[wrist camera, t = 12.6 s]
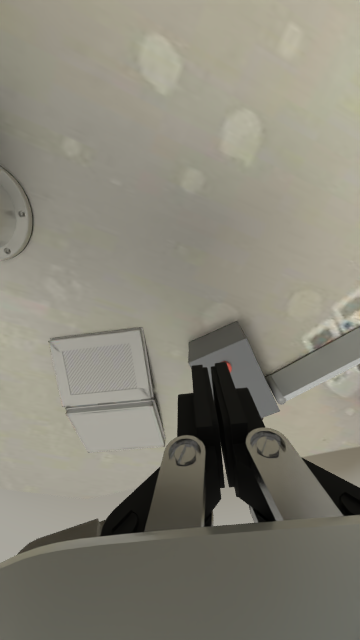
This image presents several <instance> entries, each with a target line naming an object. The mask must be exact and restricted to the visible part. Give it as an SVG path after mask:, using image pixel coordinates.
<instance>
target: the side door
mask: <svg viewBox="0 0 360 640" xmlns="http://www.w3.org/2000/svg"><path fill="white" fill-rule="evenodd" d="M358 364H360V327H359V328H357V329H355V330H353V331H352V332H350V333H348V334H346V335H344V336H342V337H341V338H339V339H337V340H335V341H333V342H331V343H330V344H328V345H326V346H324V347H322V348H320V349H319V350H317V351H315V352H313V353H311V354H309V355H308V356H306V357H304V358H302V359H300V360H298V361H296V362H295V363H293V364H291V365H289V366H287V367H285V368H284V369H282V370H280V371H278V372H276V373H274V374H273V375H269V376H267V377H266V382H267V383H268V385H269V387H270V389H271V391H272V393H273V395H274V397H275V399H276V401H277V402H278V404H284V403H285V402H286V401H288V400H290V399H291V398H293V397H295V396H297V395H299V394H301V393H303V392H305V391H307V390H309V389H311V388H313V387H315V386H317V385H319V384H321V383H323V382H325V381H327V380H329V379H331V378H333V377H335V376H337V375H339V374H341V373H343V372H344V371H346V370H348V369H350V368H352V367H354V366H356V365H358Z"/></svg>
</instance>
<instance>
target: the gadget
mask: <svg viewBox="0 0 360 640" xmlns="http://www.w3.org/2000/svg"><path fill="white" fill-rule="evenodd" d="M48 342H49V346H50V351H51V356H52V361H53V365H54V370H55V375H56V380H57V384H58V389H59V394H60V399H61V404H62V407H66V408H65V409H66V411H67V412H66V416H67V417H68V419H69V421H70V422H71V424H72V426H73V428H74V429H75V431H76V433H77V434H78V436H79V438H80V440H81V441H82V443H83V445H84V446H85V448H86V450H87V452H88V453H90V452H103V451H116V450H129V449H141V448H154V447H165V440H164V439H165V434H164V429H163V426H162V423H161V419H160V416H159V412H158V409H157V405H156V402H155V399H154V398H151V397H154V394H153V387H152V381H151V374H150V368H149V361H148V355H147V349H146V342H145V337H144V332H143V327H141V328H132V329H124V330H116V331H108V332H100V333H91V334H83V335H75V336H67V337H58V338H51V339H50V341H48Z"/></svg>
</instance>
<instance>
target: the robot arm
mask: <svg viewBox="0 0 360 640" xmlns="http://www.w3.org/2000/svg"><path fill="white" fill-rule="evenodd" d="M31 231H32V213H31V208H30V205H29V202H28V199H27V197H26V195H25V193H24V191H23V189H22V188H21V186H20V185H19V184H18V182H17V181H16V179H15V178H14V177H12V176H11V175H10V174H9V173H8V172H7V171H6V170H5V169H3V168H2V167H0V261H2V260H7V259H10V258H12V257H14V256H16V255H18V254H19V253H20V252H21V251H22V250H23V249H24V248H25V246H26V245H27V243H28V241H29V238H30V236H31ZM191 367H192V380H193V392H194V393H189V394H180V395H178V429H177V437H176V438H174V439H173V440H172V441H170V442H169V444H168V445H167V446H166V448H165V451H164V455H163V459H162V463H161V466H160V467H159V468H158V469H157V470H156V471H155V472H154V473H153V474H152V475H151V476H150V477H149V478H148V479H147V480H145V481H144V482H143V483H142V484H141V485H140V486H139V487H138V488H137V489H136V490H135V491H134V492H133V493H132V494H131V495H129V496H128V497H127V498H126V499H125V500H124V501H123V502H122V503H121V504H120V505H119V506H118V507H117V508H115V509H114V510H113V512H112V513H111V514H110V515H109V516H108V518H107V519H106V520H104V521H101V522H99V520H98V519H95V520H92V521H89V522H86V523H83V524H80V525H77V526H74V527H71V528H68V529H65V530H62V531H59V532H56V533H53V534H50V535H47V536H44V537H41V538H38V539H36V540H34V541H33V542H31V543H29V544H28V545H26V546H25V547H24V548H23V549H22V550H21V551H20V552H19V553H18V554H17V555H16V556H14V557H12V558H10V559H8V560H6V561H4V562H2V563H0V640H360V488H359V487H357V486H355V485H353V484H351V483H349V482H347V481H345V480H344V479H341V478H340V477H338V476H336V475H334V474H332V473H330V472H328V471H326V470H324V469H323V468H321V467H319V466H317V465H315V464H313V463H311V462H309V461H307V460H305V459H303V458H301V457H300V455H299V454H298V453H297V451H296V450H295V449H294V447H293V446H292V444H291V443H290V442H289V440H288V439H287V438H286V437H285V436H284V435H283V434H282V433H280V432H279V431H277V430H274V429H271V428H265V426H264V423H263V421H262V419H261V417H260V414H259V412H258V410H257V407H256V405H255V403H254V401H253V398H252V396H251V394H250V391H249V389H248V388H247V387H246V388H235V386H234V383H233V380H232V377H231V374H230V371H229V369H228V366H227V363H226V362H220V363H215V366H211V376H212V386H213V394H212V388H211V383H210V378H209V373H208V368H207V367H203V365H193V366H191ZM213 396H214V399H213ZM220 442H221V443H220ZM221 448H222V453H223V458H224V463H225V469H226V474H227V479H228V484H229V487H234V488H235V492H236V496H237V497H239V498H241V499H242V500H243V501H245V502H246V503H247V504H248V505H249V509H250V513H251V515H252V518H253V520H254V523H248V524H236V525H223V526H213V509H214V508H215V506H216V505H217V504H218V502H219V501H220V500H221V493H220V488H224V487H225V485H224V474H223V464H222V453H221Z"/></svg>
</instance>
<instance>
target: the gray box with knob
mask: <svg viewBox="0 0 360 640" xmlns="http://www.w3.org/2000/svg"><path fill="white" fill-rule="evenodd" d="M220 362H226V363H227V366H228V369H229V371H230V374H231V377H232V380H233V383H234V386H235V388H246V387H247V388H248V389H249V391H250V394H251V396H252V398H253V401H254V403H255V405H256V407H257V410H258V412H259V414H260V417H261V419H262V420H263V417H265V416H268V415H271V414H274V413H277V412H279V411H280V410H279V408H278V406H277V404H276V401H275V399H274V397H273V395H272V393H271V390H270V388H269V386H268V384H267V382H266V380H265V377H264V375H263V373H262V371H261V369H260V366H259V364H258V362H257V360H256V358H255V356H254V353H253V351H252V349H251V347H250V345H249V342H248V340H247V338H246V336H245V334H244V333H243V331H242V329H241V327H240V325H239V324H238V322H237V321H236V322H234V323H232V324H229V325H227V326H225V327H223V328H221V329H218V330H216V331H214V332H212V333H209V334H207V335H205V336H203V337H200V338H198V339H196V340H194V341H191V342H189V357H188V363H189V365H190V367H191V366H193V365H203V367H207V368H208V373H209V378H210V383H211V388H212V394H213V386H212V376H211V366H215V363H220ZM191 369H192V367H191ZM213 399H214V396H213Z"/></svg>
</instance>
